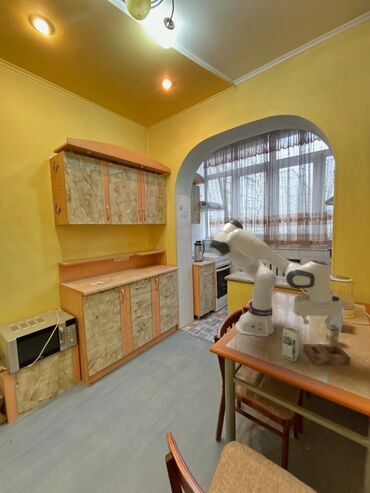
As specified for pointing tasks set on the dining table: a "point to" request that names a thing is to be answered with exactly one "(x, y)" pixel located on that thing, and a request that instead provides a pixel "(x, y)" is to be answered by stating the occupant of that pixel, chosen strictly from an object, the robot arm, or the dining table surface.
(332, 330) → the oak peg
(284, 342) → the syrup box
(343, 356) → the socket block
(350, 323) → the dining table surface
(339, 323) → the light bulb box
